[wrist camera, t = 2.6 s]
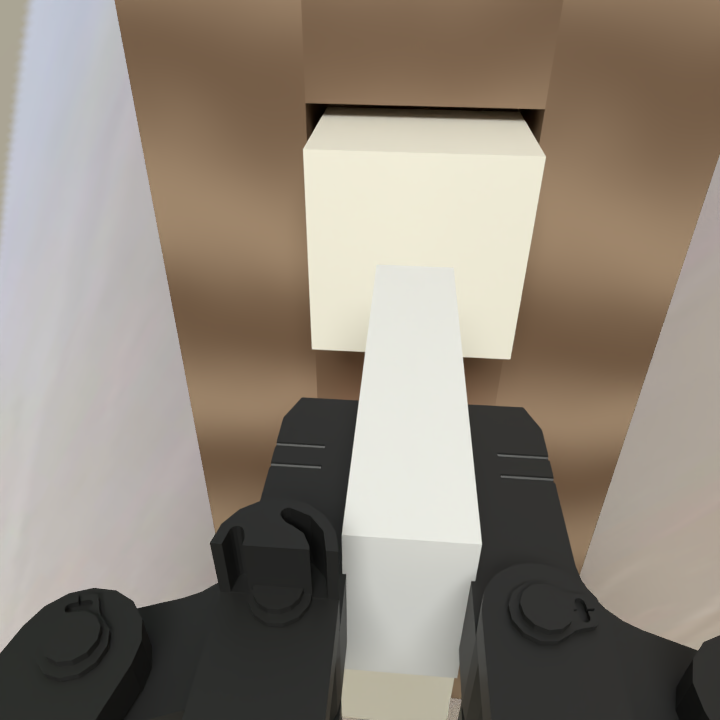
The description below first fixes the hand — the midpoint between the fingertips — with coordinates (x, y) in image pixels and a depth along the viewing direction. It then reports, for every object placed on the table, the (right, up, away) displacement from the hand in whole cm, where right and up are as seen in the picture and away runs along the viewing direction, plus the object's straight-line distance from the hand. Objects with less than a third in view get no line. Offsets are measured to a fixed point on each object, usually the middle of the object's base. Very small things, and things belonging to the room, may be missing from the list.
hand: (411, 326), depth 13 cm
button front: (+1, +4, +7) cm, 8 cm away
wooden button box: (+1, -2, +16) cm, 16 cm away
